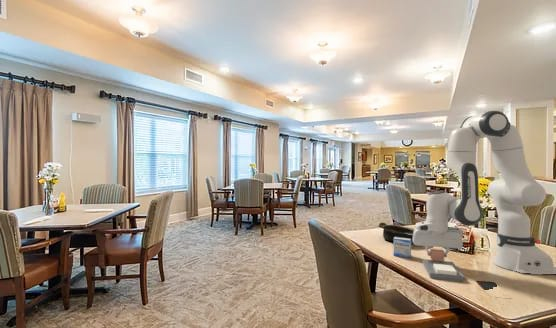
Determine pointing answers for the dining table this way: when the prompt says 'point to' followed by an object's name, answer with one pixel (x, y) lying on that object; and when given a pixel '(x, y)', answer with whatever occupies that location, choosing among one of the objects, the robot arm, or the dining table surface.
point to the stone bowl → (396, 232)
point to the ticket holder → (443, 270)
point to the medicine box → (402, 247)
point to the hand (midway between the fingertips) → (436, 256)
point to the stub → (437, 254)
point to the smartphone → (486, 284)
